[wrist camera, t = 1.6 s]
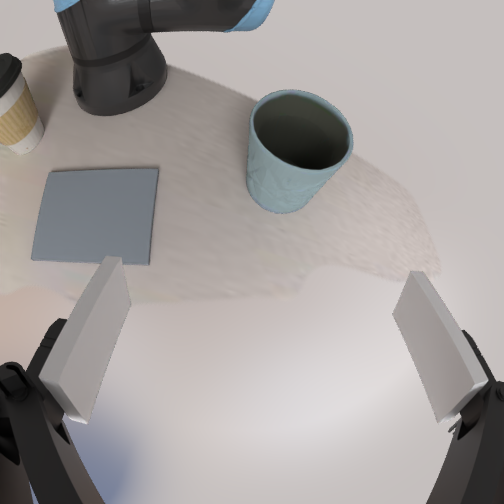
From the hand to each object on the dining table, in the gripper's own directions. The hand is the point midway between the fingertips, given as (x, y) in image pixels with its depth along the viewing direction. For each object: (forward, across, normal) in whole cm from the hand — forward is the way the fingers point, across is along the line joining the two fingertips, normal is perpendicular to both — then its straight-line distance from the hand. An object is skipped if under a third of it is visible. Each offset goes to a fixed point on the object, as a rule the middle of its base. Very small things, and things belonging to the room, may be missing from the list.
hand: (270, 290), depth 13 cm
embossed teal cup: (+27, +3, -4) cm, 27 cm away
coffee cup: (+29, -35, +2) cm, 46 cm away
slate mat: (+21, -20, -7) cm, 30 cm away
